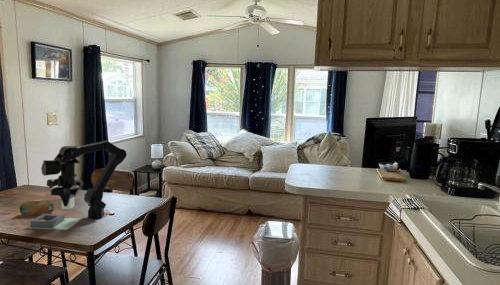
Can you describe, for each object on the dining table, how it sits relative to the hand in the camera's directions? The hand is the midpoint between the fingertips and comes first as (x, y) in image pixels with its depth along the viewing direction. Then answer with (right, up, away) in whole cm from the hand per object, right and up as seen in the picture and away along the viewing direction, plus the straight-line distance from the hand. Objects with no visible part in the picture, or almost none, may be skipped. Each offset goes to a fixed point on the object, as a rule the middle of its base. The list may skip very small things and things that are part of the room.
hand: (68, 204), depth 152 cm
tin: (-22, -8, +11) cm, 26 cm away
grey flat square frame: (-9, -9, 0) cm, 13 cm away
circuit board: (-6, -10, +1) cm, 12 cm away
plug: (0, -1, 0) cm, 1 cm away
